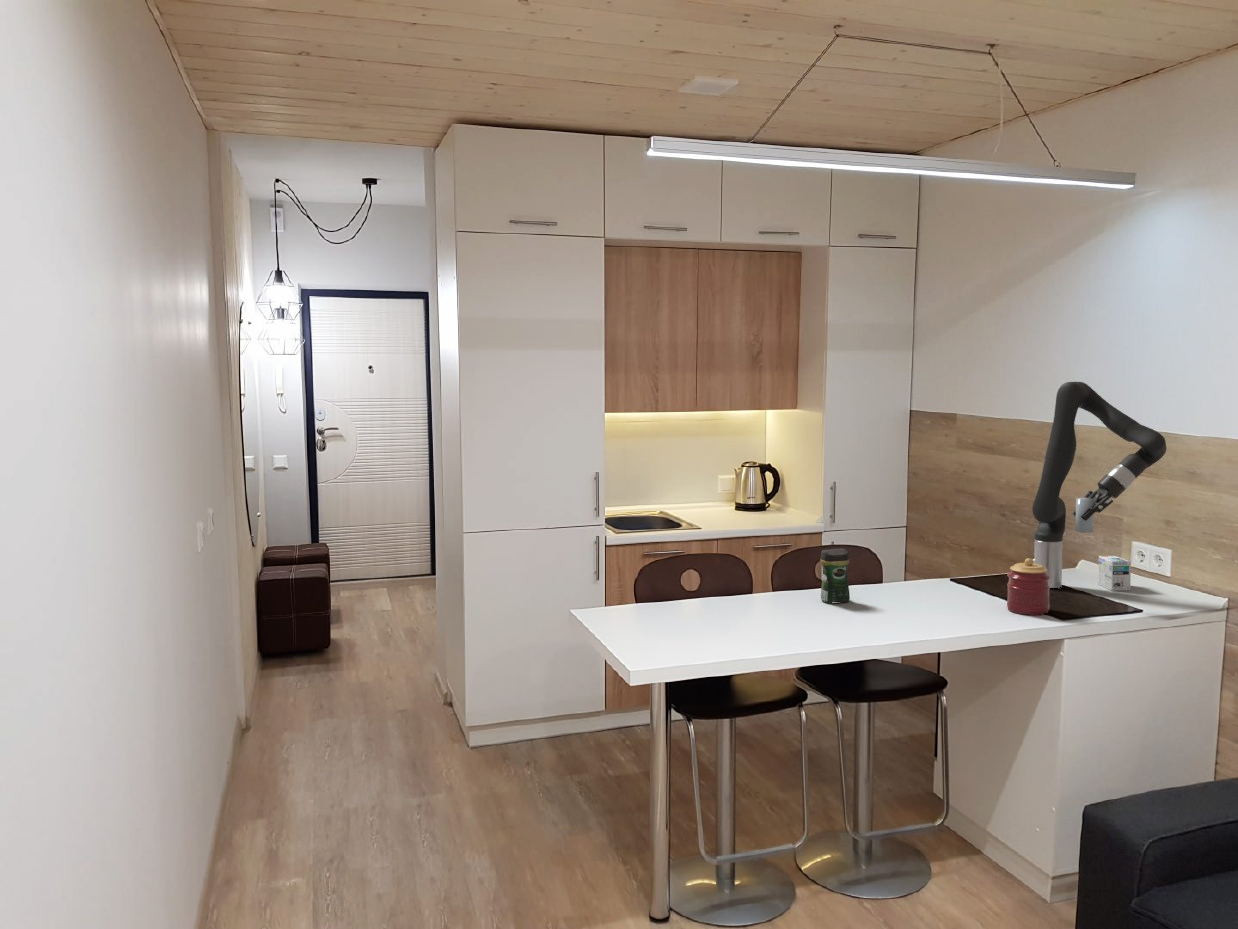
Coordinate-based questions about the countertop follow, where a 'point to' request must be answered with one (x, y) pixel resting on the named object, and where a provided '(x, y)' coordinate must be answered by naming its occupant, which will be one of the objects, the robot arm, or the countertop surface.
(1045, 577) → the canister
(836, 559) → the coffee jar
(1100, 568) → the light bulb box
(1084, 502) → the grey rounded bar
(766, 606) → the countertop surface
